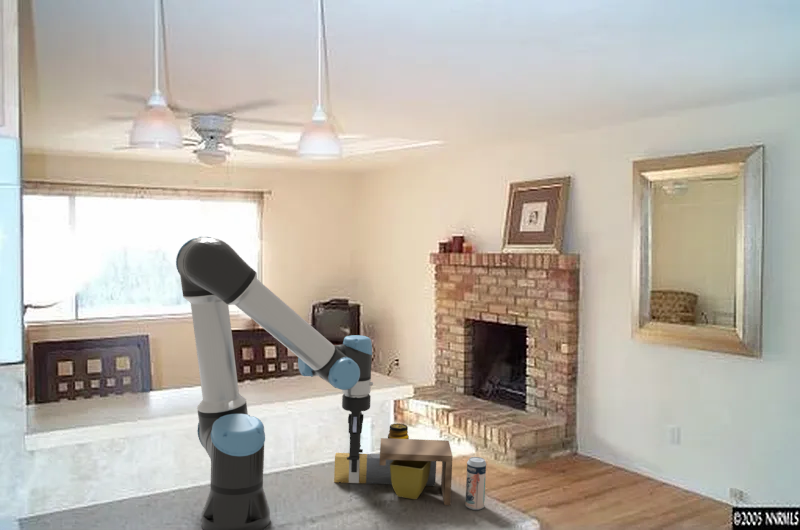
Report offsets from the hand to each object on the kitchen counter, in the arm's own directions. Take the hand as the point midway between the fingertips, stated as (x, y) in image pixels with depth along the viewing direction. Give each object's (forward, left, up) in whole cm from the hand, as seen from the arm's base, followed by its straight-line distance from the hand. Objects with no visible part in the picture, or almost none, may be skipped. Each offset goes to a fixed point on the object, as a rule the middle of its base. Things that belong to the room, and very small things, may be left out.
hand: (354, 479), depth 179 cm
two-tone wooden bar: (+8, 0, 0) cm, 8 cm away
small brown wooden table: (+16, -8, 0) cm, 18 cm away
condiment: (+11, +12, -1) cm, 16 cm away
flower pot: (+15, -8, -1) cm, 17 cm away
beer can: (+31, -14, -1) cm, 34 cm away
